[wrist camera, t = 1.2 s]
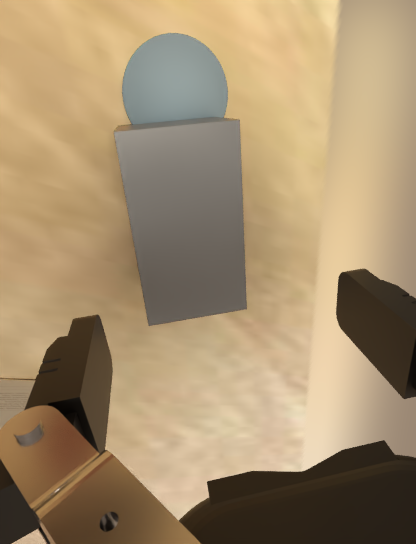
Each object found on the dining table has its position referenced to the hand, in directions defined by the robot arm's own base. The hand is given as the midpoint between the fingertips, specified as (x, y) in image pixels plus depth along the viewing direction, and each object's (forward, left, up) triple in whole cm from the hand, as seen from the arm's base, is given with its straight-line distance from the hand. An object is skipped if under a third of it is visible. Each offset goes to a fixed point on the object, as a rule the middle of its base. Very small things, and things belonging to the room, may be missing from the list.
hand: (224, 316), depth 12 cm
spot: (+6, +3, -17) cm, 18 cm away
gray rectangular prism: (0, 0, -17) cm, 17 cm away
